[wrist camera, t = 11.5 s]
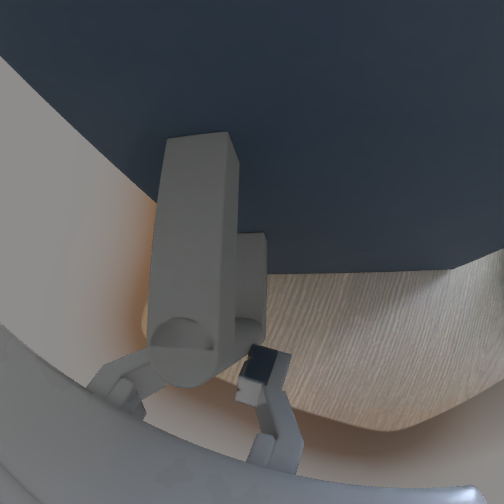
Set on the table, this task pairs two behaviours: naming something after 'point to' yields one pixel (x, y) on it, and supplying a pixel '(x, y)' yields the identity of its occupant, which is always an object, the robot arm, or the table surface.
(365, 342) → the table surface
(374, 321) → the table surface
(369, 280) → the table surface
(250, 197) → the door
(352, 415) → the table surface
